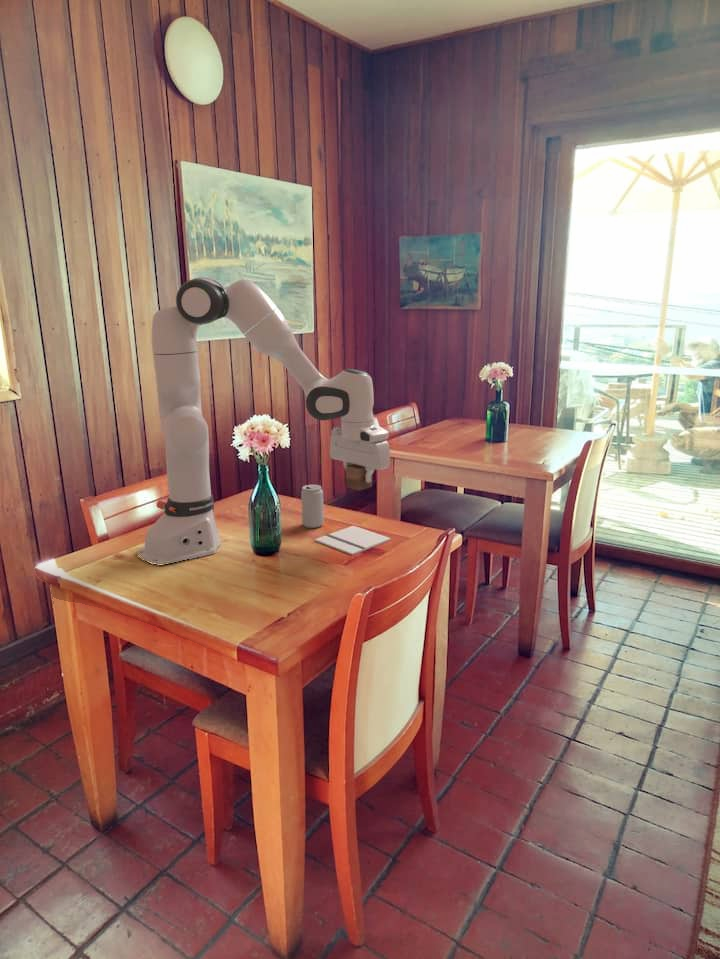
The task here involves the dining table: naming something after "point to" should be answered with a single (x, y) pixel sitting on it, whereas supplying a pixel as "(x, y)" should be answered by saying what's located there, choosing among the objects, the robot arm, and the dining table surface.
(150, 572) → the dining table surface
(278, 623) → the dining table surface
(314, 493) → the beverage can
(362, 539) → the board
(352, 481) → the walnut block
